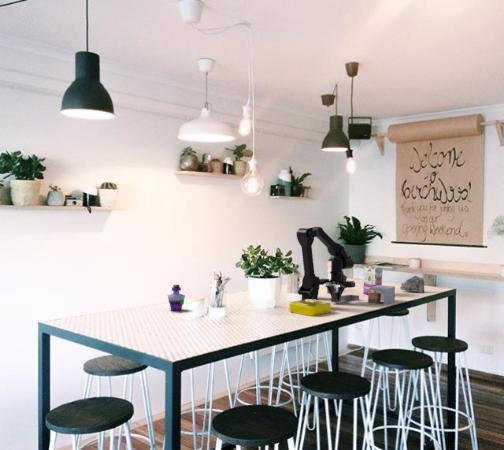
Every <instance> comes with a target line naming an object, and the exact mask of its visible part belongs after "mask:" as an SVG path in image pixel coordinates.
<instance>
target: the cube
mask: <svg viewBox="0 0 504 450" xmlns="http://www.w3.org/2000/svg"><path fill="white" fill-rule="evenodd" d="M380 302H382V300H381V293H369V294H368V295H367V304H373V303H374V304H375V305H378V304H380Z"/></svg>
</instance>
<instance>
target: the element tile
mask: <svg viewBox="0 0 504 450" xmlns="http://www.w3.org/2000/svg"><path fill="white" fill-rule="evenodd" d="M288 307H289V310H288V311H289V312H290V313H293V314H298V315H304V316H308V315H309V316H310V317H315V315H316V316H321V315H326V314H329V313H331V302H326V301H320V300H312V299H306V300H302V299H301V300H300V299H299V300H295V301H290V302H289V305H288ZM325 313H326V314H325ZM320 314H321V315H320ZM309 316H308V317H309Z"/></svg>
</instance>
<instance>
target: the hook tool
mask: <svg viewBox="0 0 504 450" xmlns="http://www.w3.org/2000/svg"><path fill="white" fill-rule="evenodd" d="M330 298H331V299H330V303H341V302H344V301H349V300H350V301H351V300H354V301H359V300H360V295H357V294H344V295H343V294H342V295H341V298H340V300H338V291H334V292H332V295H330Z"/></svg>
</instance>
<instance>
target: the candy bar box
mask: <svg viewBox="0 0 504 450" xmlns="http://www.w3.org/2000/svg"><path fill="white" fill-rule="evenodd" d="M377 285H383V267H378V266H372V265H371V266H369V265H365V266H363V295H366V294H367V296H368V294H369V293H378V291H377V290H369V288H370V287H374V286H377Z"/></svg>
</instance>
